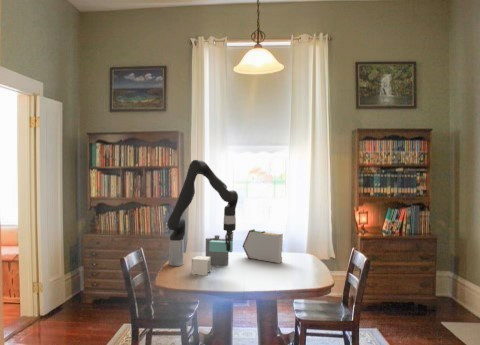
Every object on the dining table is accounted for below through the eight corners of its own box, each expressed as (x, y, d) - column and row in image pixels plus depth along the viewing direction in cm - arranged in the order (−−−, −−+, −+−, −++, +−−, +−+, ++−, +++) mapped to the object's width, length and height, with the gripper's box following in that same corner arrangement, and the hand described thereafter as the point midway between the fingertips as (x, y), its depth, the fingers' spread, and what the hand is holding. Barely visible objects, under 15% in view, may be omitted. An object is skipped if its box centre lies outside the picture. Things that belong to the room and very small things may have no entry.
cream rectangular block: (191, 274, 218) (191, 259, 218) (195, 270, 226) (195, 256, 226) (207, 275, 216) (207, 259, 216) (210, 271, 224) (210, 256, 224)
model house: (284, 232, 252) (248, 227, 268) (279, 233, 245) (242, 229, 261) (283, 261, 253) (248, 255, 269) (278, 264, 245) (242, 257, 261)
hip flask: (228, 263, 244) (228, 235, 243) (227, 265, 239) (228, 236, 239) (205, 263, 245) (206, 234, 245) (204, 264, 241) (205, 235, 241)
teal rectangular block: (209, 251, 217) (209, 241, 217) (210, 249, 222) (210, 240, 222) (231, 252, 216) (231, 242, 216) (232, 250, 220) (232, 241, 220)
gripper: (226, 220, 226) (225, 247, 226) (221, 224, 212) (220, 252, 212) (237, 221, 224) (237, 247, 225) (233, 224, 210) (232, 252, 211)
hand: (229, 249), depth 218 cm, fingers closed on teal rectangular block, 4 cm apart
